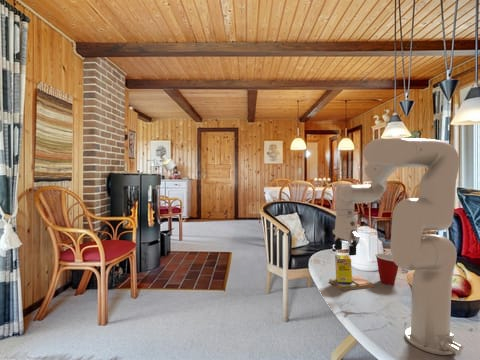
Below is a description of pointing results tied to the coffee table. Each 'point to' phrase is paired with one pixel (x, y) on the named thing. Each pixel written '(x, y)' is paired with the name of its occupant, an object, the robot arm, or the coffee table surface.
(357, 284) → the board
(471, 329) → the coffee table surface
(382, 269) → the plastic cup
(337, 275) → the supplement box
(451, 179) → the robot arm
